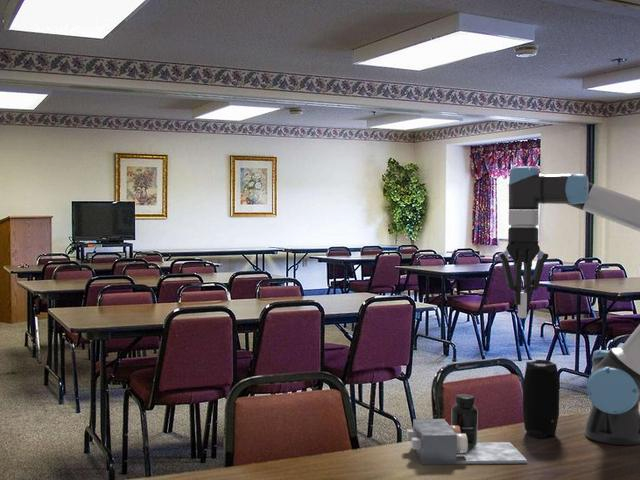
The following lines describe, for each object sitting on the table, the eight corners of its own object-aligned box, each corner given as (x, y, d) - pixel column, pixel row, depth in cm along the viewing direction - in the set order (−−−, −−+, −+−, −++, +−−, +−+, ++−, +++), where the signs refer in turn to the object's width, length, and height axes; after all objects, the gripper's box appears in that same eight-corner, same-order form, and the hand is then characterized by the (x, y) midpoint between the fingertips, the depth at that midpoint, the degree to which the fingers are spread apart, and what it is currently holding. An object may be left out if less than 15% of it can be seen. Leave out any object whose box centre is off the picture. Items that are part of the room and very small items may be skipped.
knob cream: (463, 449, 187) (463, 431, 186) (467, 454, 182) (467, 436, 182) (410, 449, 186) (410, 431, 186) (413, 455, 182) (413, 437, 181)
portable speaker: (563, 438, 201) (564, 365, 200) (528, 439, 200) (529, 365, 200) (551, 429, 210) (552, 358, 209) (517, 430, 209) (518, 359, 208)
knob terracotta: (456, 440, 194) (457, 423, 193) (460, 445, 189) (461, 428, 189) (406, 441, 193) (406, 423, 193) (408, 446, 189) (409, 428, 188)
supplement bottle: (466, 447, 194) (466, 400, 193) (445, 441, 199) (445, 395, 198) (482, 442, 198) (483, 396, 198) (461, 436, 203) (462, 391, 203)
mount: (509, 445, 196) (510, 418, 195) (527, 463, 182) (527, 434, 181) (412, 446, 194) (413, 419, 194) (422, 464, 180) (423, 435, 180)
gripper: (543, 226, 202) (541, 315, 202) (494, 226, 201) (493, 315, 202) (553, 227, 194) (551, 319, 195) (502, 226, 193) (501, 319, 194)
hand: (522, 317), depth 198 cm, fingers closed
